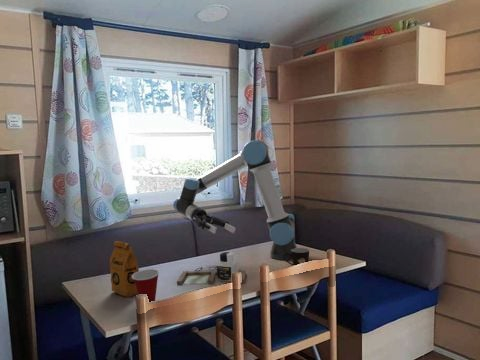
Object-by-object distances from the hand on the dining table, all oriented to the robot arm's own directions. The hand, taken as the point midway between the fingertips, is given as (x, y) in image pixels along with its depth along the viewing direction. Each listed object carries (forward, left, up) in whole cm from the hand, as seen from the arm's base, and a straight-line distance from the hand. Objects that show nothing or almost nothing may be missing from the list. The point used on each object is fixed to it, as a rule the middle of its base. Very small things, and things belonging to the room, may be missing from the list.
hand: (225, 230), depth 197 cm
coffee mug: (-34, -2, -21) cm, 40 cm away
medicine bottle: (-1, +8, -21) cm, 22 cm away
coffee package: (+41, +24, -21) cm, 52 cm away
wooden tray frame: (+6, +8, -21) cm, 23 cm away
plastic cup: (+29, +35, -21) cm, 50 cm away
